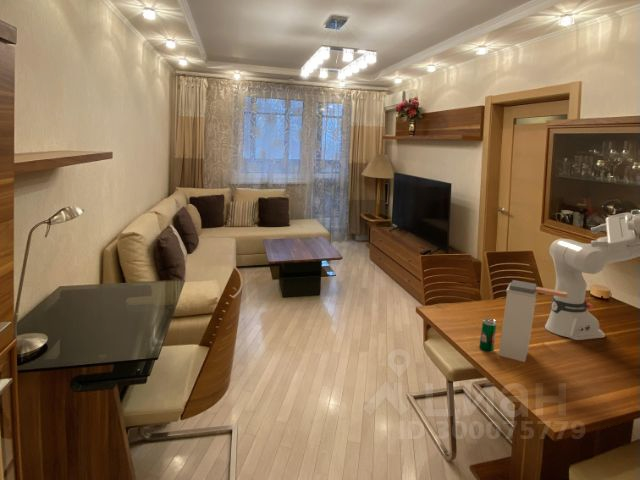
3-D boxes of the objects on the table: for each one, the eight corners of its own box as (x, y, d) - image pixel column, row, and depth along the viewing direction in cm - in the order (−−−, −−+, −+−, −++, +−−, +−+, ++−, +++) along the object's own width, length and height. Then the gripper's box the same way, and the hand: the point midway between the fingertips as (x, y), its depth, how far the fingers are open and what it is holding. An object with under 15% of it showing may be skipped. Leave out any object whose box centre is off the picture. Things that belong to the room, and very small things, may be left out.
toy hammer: (567, 293, 150) (567, 289, 149) (566, 299, 143) (566, 295, 143) (512, 283, 159) (512, 279, 159) (509, 289, 152) (509, 285, 152)
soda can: (476, 346, 164) (480, 317, 162) (489, 346, 165) (493, 317, 162) (482, 352, 159) (486, 323, 157) (495, 352, 160) (499, 323, 157)
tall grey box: (528, 352, 161) (538, 287, 155) (525, 362, 153) (535, 295, 147) (501, 345, 166) (510, 282, 160) (497, 355, 158) (506, 289, 152)
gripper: (647, 253, 127) (594, 260, 135) (640, 223, 142) (593, 232, 151) (643, 235, 125) (589, 243, 134) (636, 207, 141) (588, 216, 149)
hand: (591, 237), depth 142 cm, fingers open, 8 cm apart
